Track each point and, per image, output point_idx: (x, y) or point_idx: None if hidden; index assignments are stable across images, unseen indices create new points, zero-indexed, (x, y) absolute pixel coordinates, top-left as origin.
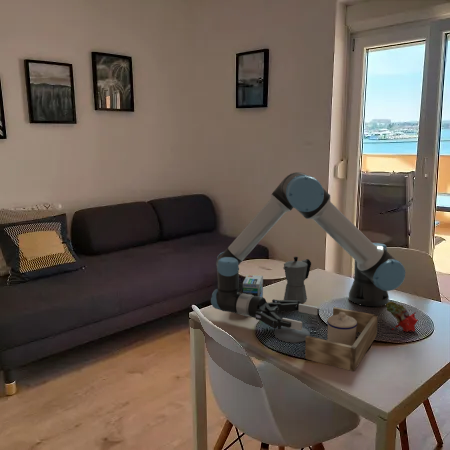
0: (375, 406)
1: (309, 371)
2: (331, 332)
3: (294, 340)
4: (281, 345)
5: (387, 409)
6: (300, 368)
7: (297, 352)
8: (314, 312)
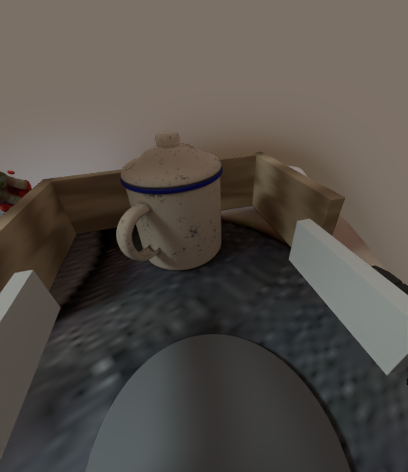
0: (302, 170)
1: (348, 233)
2: (219, 196)
3: (272, 368)
4: (368, 400)
5: (293, 166)
6: (366, 249)
7: (322, 302)
8: (46, 309)
